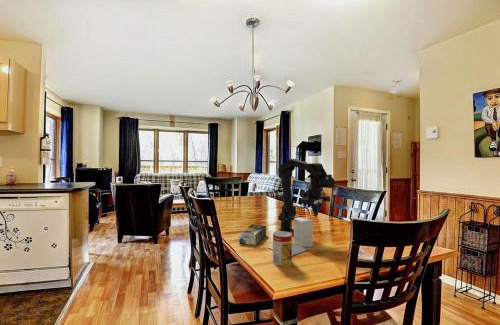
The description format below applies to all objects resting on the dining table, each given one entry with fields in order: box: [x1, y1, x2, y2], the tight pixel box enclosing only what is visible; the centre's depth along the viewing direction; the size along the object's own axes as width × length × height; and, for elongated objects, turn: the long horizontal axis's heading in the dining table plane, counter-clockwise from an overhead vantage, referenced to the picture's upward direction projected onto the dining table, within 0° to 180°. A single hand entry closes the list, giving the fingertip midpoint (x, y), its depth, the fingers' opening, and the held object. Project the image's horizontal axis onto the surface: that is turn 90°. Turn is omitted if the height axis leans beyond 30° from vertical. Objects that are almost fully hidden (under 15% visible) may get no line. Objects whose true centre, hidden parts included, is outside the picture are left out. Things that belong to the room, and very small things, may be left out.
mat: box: [268, 243, 310, 257], centre depth 126 cm, size 13×14×1 cm
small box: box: [293, 216, 314, 248], centre depth 133 cm, size 8×6×13 cm
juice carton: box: [238, 224, 267, 246], centre depth 142 cm, size 20×10×6 cm, turn 160°
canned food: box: [272, 230, 293, 267], centre depth 110 cm, size 8×8×12 cm
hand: (315, 216), depth 140 cm, fingers closed
